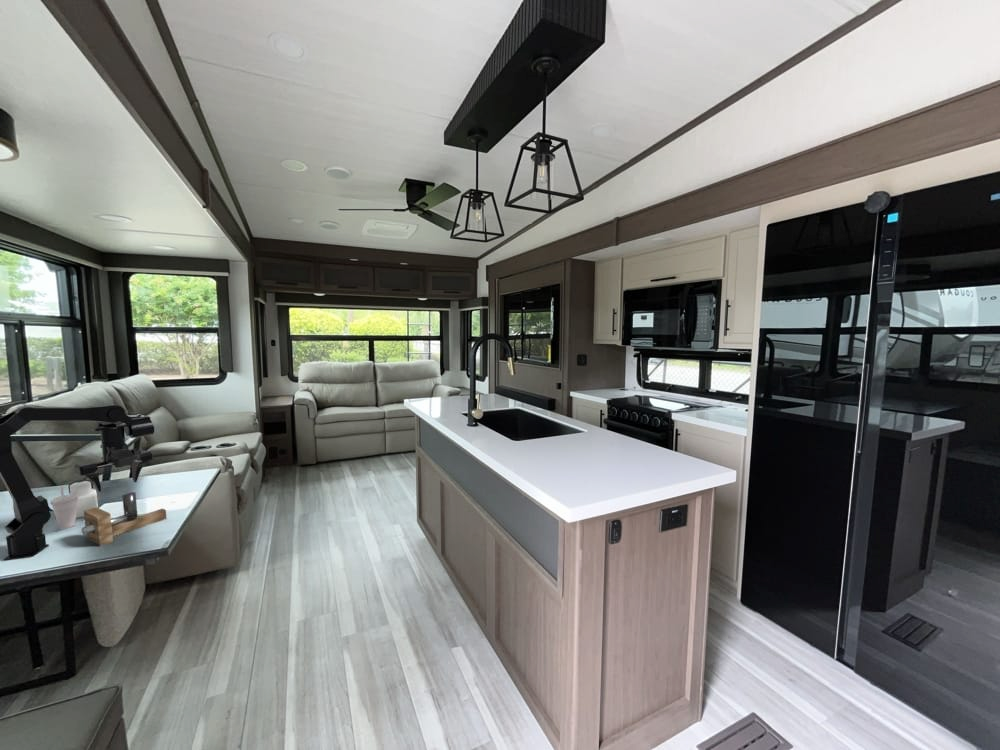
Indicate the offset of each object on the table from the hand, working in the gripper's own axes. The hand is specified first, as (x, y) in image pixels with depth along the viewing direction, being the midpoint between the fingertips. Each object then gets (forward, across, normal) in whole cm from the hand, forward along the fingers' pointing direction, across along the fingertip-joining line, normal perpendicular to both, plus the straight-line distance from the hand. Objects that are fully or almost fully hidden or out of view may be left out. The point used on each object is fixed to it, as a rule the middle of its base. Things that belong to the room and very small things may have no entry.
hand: (117, 486), depth 135 cm
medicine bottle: (+13, -2, +22) cm, 26 cm away
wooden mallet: (+13, 0, -8) cm, 15 cm away
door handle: (+10, -5, -8) cm, 13 cm away
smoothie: (+13, -9, +14) cm, 21 cm away
